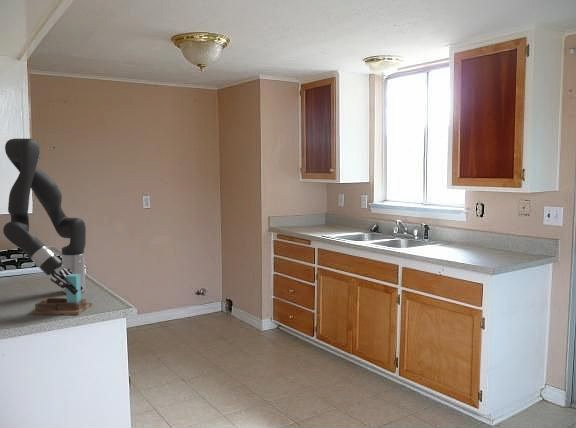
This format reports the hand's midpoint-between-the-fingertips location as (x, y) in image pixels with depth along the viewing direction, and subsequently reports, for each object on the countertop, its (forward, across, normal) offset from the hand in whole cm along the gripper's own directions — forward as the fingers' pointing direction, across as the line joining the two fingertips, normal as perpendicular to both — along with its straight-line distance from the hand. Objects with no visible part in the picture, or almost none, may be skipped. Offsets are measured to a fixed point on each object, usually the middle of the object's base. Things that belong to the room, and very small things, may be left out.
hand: (78, 291), depth 203 cm
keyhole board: (+1, 0, +10) cm, 10 cm away
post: (+3, 0, +5) cm, 6 cm away
